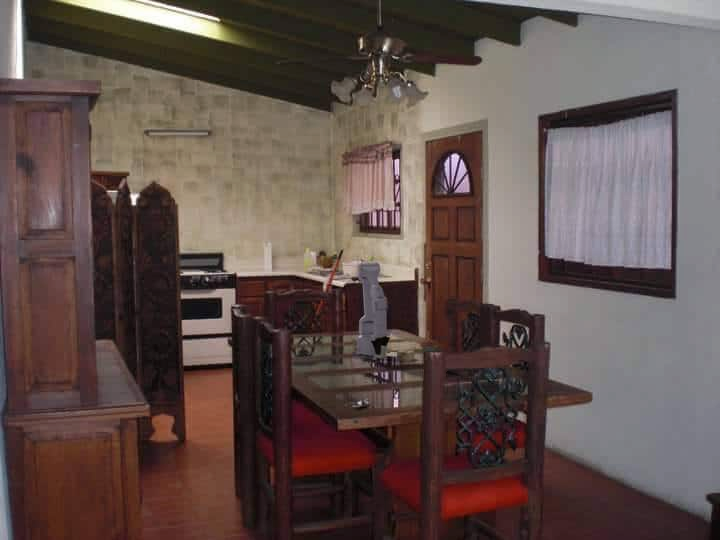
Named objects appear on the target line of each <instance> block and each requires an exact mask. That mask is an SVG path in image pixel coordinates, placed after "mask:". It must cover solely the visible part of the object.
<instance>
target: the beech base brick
mask: <svg viewBox="0 0 720 540" xmlns="http://www.w3.org/2000/svg"><path fill="white" fill-rule="evenodd" d="M412 359H413V360H414V359H415V350H411V349H410V350H409V349H401V350H398V351H397V357H396V360H397V361H402V362H403V361H405V362H410V361H413V360H412Z"/></svg>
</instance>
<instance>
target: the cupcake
mask: <svg viewBox="0 0 720 540" xmlns="http://www.w3.org/2000/svg"><path fill="white" fill-rule="evenodd" d="M438 346H439V344H438V342H437V341H436V340H433V339H430V332H429V331H427V339H424V340H422V341H421V342H420V343H419V347H420V348H421V349H422V352H423V351H424V350H429V351H435V352H436V349H438Z"/></svg>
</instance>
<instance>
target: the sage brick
mask: <svg viewBox="0 0 720 540" xmlns="http://www.w3.org/2000/svg"><path fill="white" fill-rule="evenodd" d="M387 347H388V345H387V346H381V353H380V355H376V354H375V355H374V358H377V359H384V358H387V357H388V356H387V352H388V349H387Z"/></svg>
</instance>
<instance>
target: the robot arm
mask: <svg viewBox="0 0 720 540" xmlns="http://www.w3.org/2000/svg"><path fill="white" fill-rule="evenodd" d="M380 272H381V266H380V263H379V262H359V263H358V265H357V278H358V281H360V282H361V284H362V295H363V311H364V312H363V313H364V315H363V316H361V318H360V319H359V321H358V333H359V335H358V337H357V340H356V346H357V347H356V348H357V349H356V350H357V351H356V355H360V354H361V355H363V356H370V357H373V356H374V357H375V354H376V355H380V353H381V346H387V347H388V344H389V341H390V339H391V337H390V336H391V332H390V331H389V330H388V331H387V329H388V328H387V311H388V309H389V301H388V298H387V297H386V296H385V293H384V290H383V287H382V286H381V285H380V284H379V278H378V277H379V275H380V274H381V273H380Z"/></svg>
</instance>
